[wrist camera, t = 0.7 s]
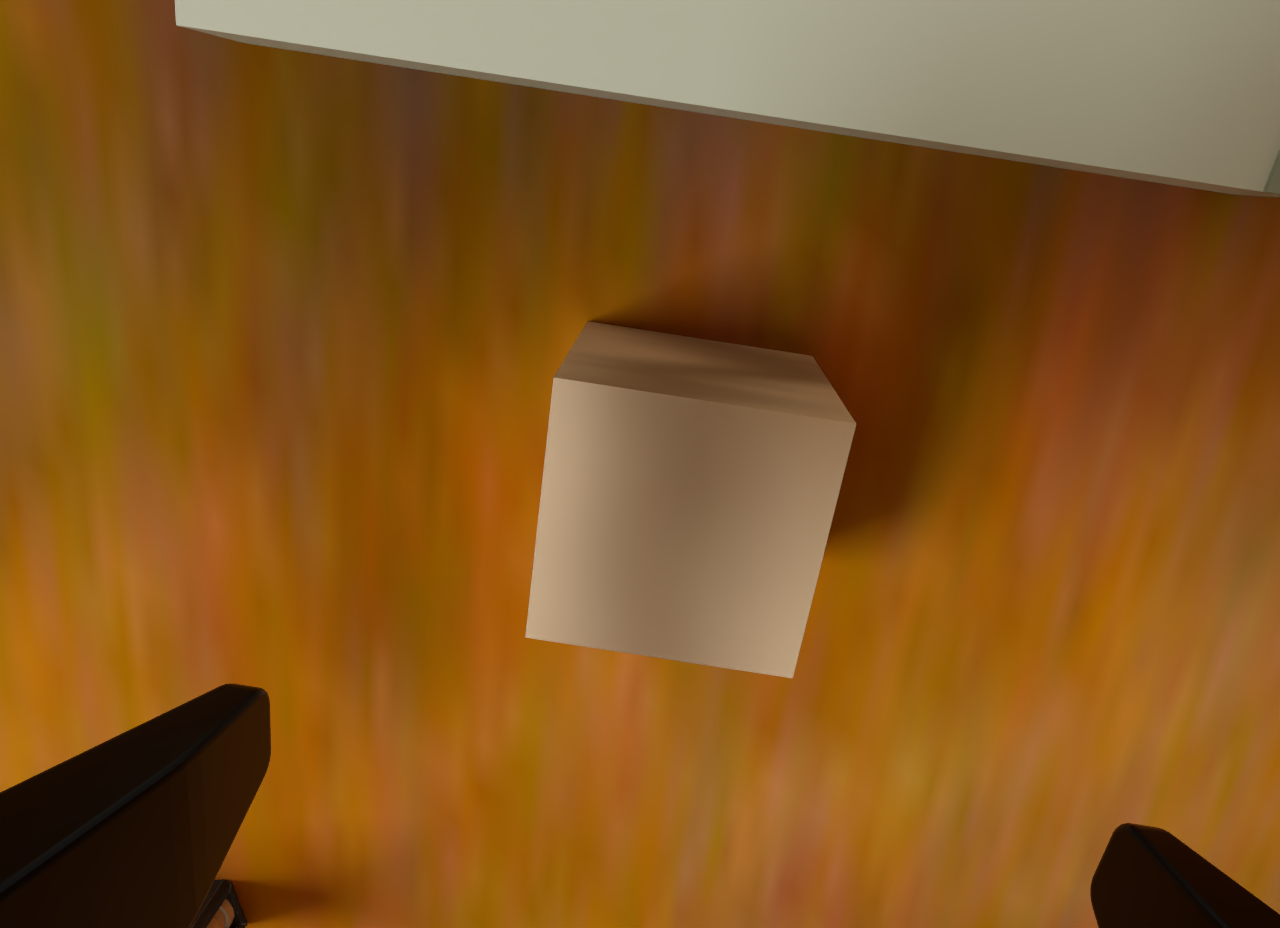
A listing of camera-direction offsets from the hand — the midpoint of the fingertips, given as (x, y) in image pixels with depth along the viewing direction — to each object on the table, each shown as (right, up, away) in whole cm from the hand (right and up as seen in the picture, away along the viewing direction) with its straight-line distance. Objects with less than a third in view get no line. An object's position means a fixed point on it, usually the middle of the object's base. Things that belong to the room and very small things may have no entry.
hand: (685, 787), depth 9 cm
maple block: (0, +4, +10) cm, 11 cm away
